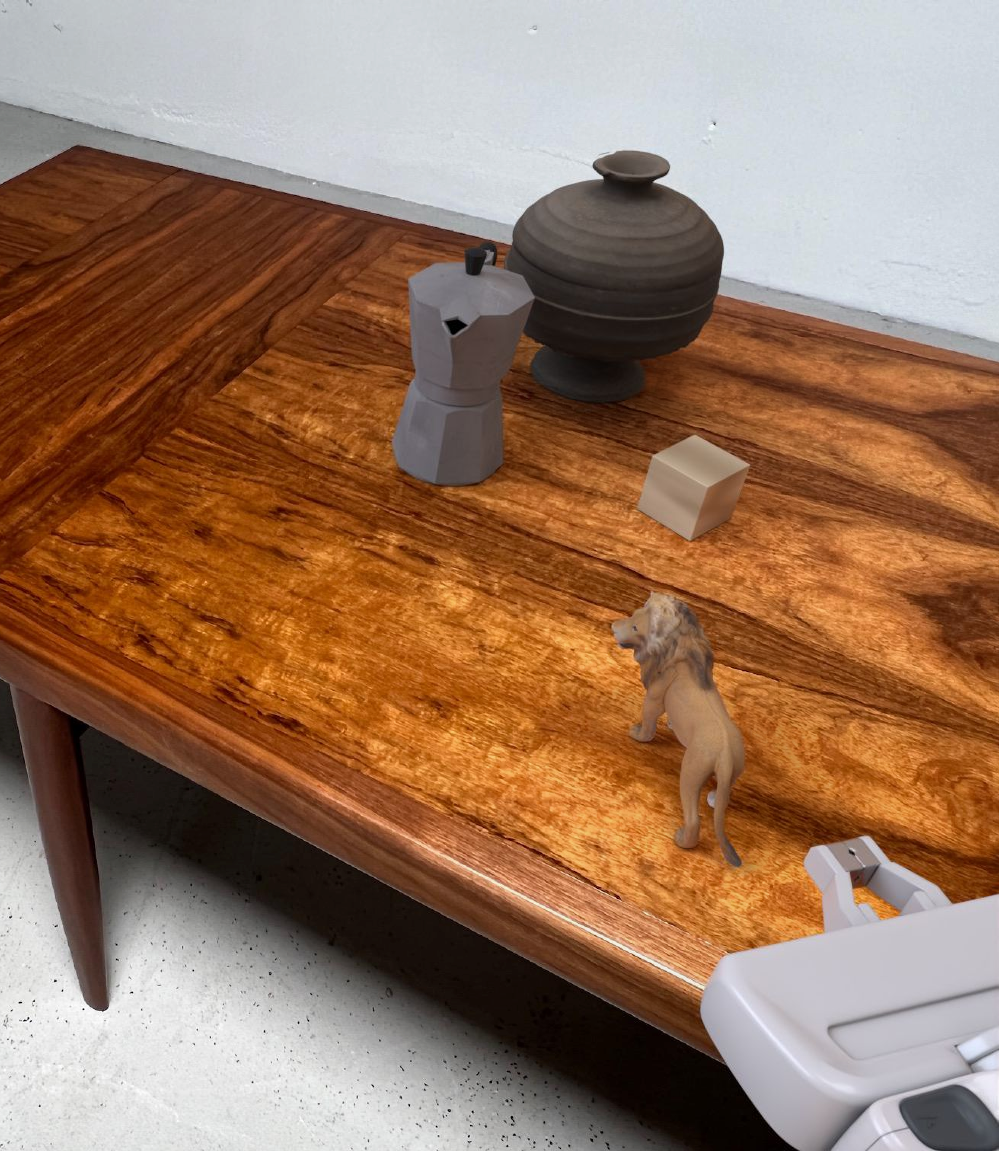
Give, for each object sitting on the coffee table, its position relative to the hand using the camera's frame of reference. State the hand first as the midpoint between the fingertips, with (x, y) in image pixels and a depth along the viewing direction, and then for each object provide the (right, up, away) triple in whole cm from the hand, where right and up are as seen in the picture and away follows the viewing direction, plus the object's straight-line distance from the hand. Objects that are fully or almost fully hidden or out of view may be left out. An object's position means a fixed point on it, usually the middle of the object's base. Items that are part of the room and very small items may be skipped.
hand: (833, 848), depth 54 cm
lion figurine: (-3, +2, +14) cm, 14 cm away
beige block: (+6, +18, +33) cm, 38 cm away
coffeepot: (-11, +24, +40) cm, 48 cm away
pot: (+4, +31, +49) cm, 58 cm away
